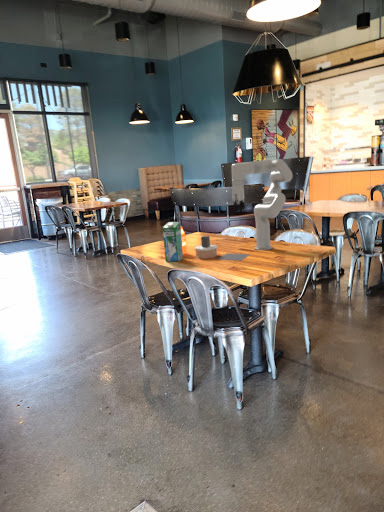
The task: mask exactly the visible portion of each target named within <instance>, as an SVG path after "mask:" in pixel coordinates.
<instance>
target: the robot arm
mask: <svg viewBox="0 0 384 512" xmlns="http://www.w3.org/2000/svg"><path fill="white" fill-rule="evenodd" d="M266 173H269V182H270V183H269V184H270V187H269V188H268V190H267V192H266V194H265V195H264V196H263V198H262V203H257V204H256V205H254V208H253V214H254V219H255V236H256V237H255V238H256V239H255V240H256V246H254V250H256V251H270V250H272V249H273V245H271V229H270V228H271V227H270V226H271V224H270V223H271V222H270V220H269V219H275V218H276V217H277V216H279V214H280V212H281V210H282V209H283V207H284V206H285V204H286V199H287V198H286V195H285V194H284V193H282V187H281V184H280V183H289V182H291V181H292V179H293V172H292V170H291V169H290V167H289V166H288V164H287V163H286V162H285V161H284V160H283V159H281V158H274V159H262V160H254V161H249V162H239V163H237V162H236V163H232V164H231V185H232V189H231V190H232V192H231V201H232V203H233V204H232V205H233V211H234V212H238V211H240V210H245V189H244V185H245V175H250V174H254V175H255V174H256V175H257V174H266Z"/></svg>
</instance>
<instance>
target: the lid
mask: <svg viewBox="0 0 384 512" xmlns="http://www.w3.org/2000/svg"><path fill="white" fill-rule="evenodd" d="M200 239H201V244H200V245H196V246H195V247H194V250H195V251H196V250H199V251H208V250H214V249H216V250H218V245H216V244H211V241H210V235H203V236H201V238H200Z"/></svg>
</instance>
